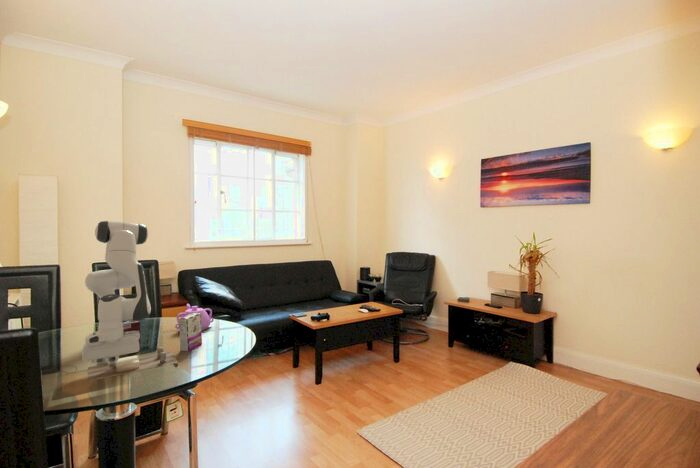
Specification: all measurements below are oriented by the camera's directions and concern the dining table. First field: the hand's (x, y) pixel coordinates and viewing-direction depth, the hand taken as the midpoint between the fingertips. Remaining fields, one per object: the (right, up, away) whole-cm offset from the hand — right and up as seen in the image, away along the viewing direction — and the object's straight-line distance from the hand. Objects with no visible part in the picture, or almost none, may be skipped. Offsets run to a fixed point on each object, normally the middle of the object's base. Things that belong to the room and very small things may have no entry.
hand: (112, 366), depth 152 cm
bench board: (+6, -2, +4) cm, 8 cm away
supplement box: (-5, -2, +21) cm, 22 cm away
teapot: (+6, -1, +65) cm, 65 cm away
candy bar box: (+20, -2, +30) cm, 36 cm away
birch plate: (+4, -1, +3) cm, 6 cm away
